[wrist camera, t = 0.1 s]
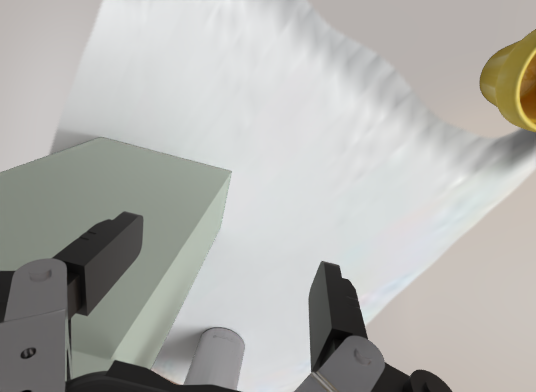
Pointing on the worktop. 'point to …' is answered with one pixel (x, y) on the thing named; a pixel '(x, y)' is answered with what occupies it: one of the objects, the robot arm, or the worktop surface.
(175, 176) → the tall capped green box
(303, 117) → the worktop surface
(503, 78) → the plant pot
